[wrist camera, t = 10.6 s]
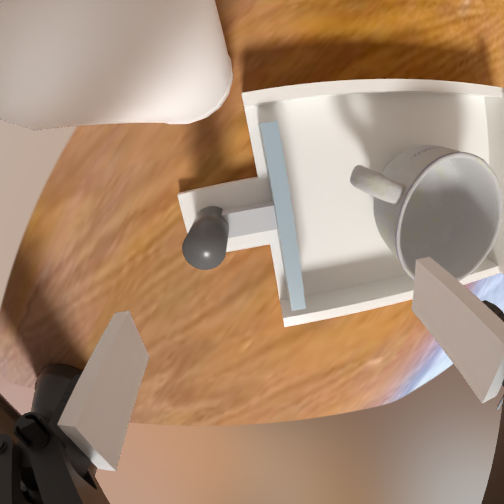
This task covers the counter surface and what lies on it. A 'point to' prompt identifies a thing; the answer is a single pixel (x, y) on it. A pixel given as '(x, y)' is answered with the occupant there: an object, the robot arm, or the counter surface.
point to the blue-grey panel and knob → (252, 222)
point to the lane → (338, 179)
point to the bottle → (111, 62)
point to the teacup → (435, 207)
